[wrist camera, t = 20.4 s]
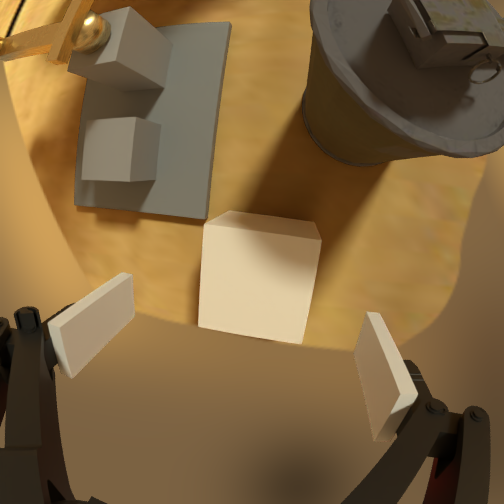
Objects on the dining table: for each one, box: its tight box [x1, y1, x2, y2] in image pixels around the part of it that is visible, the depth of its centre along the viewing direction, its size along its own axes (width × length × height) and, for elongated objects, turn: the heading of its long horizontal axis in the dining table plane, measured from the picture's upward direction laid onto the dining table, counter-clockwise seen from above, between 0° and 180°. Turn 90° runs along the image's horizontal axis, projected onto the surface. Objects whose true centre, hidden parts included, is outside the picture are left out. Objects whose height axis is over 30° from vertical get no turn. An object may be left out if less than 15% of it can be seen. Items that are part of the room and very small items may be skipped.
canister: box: [302, 0, 504, 166], centre depth 14 cm, size 11×10×20 cm
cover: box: [198, 210, 322, 344], centre depth 25 cm, size 8×8×8 cm
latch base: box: [67, 6, 232, 219], centre depth 22 cm, size 20×16×10 cm
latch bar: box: [0, 0, 111, 65], centre depth 14 cm, size 15×6×4 cm, turn 75°
